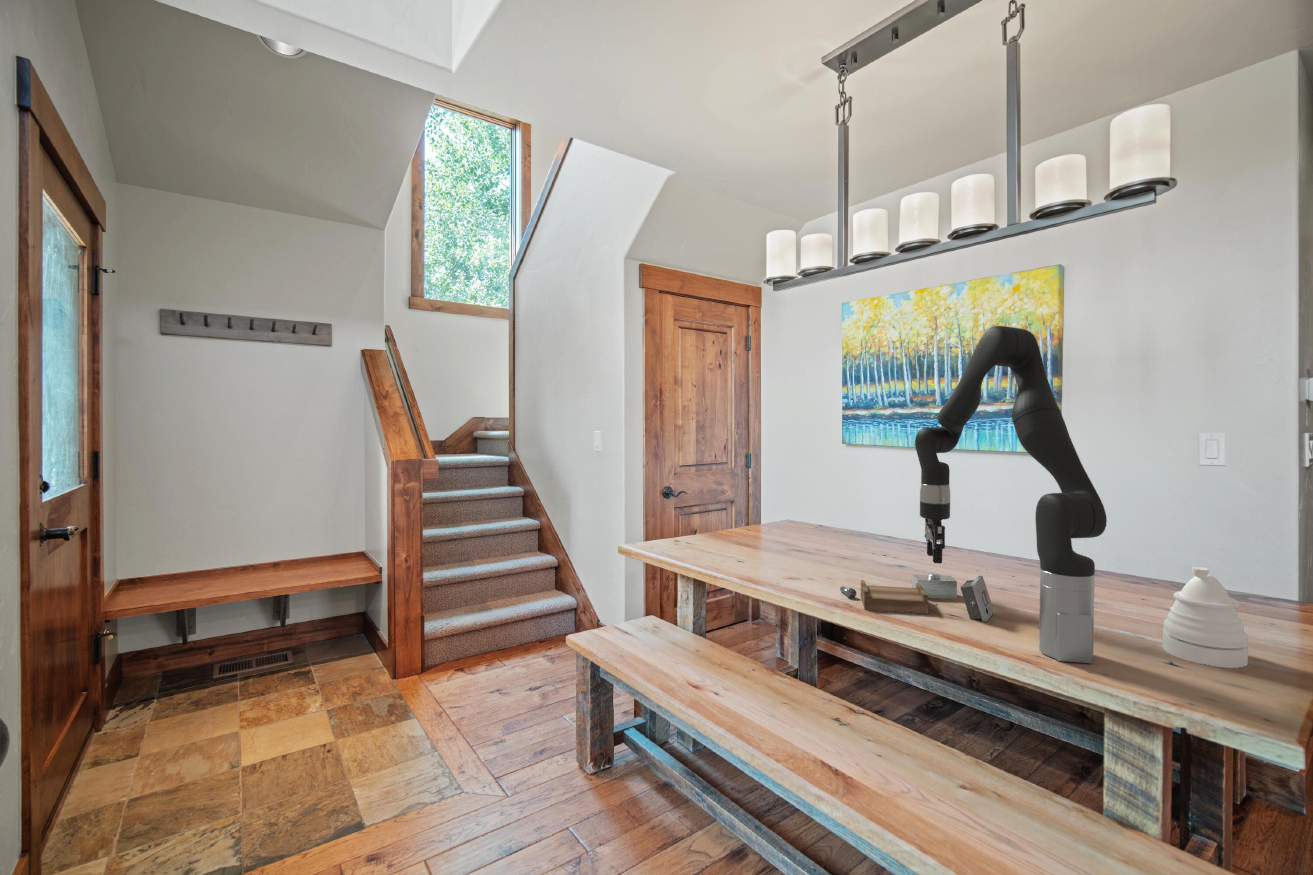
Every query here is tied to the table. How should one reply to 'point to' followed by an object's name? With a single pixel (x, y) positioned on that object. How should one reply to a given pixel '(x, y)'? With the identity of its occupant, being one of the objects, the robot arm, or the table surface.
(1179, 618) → the honey pot
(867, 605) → the brown wooden tray
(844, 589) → the bolt
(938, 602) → the table surface
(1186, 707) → the table surface
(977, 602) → the electrical switch
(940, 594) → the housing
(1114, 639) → the table surface
